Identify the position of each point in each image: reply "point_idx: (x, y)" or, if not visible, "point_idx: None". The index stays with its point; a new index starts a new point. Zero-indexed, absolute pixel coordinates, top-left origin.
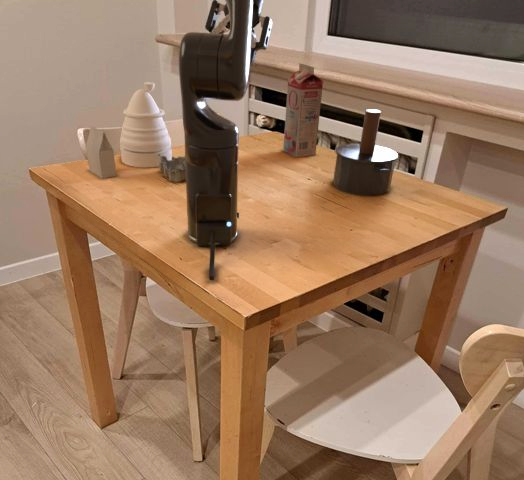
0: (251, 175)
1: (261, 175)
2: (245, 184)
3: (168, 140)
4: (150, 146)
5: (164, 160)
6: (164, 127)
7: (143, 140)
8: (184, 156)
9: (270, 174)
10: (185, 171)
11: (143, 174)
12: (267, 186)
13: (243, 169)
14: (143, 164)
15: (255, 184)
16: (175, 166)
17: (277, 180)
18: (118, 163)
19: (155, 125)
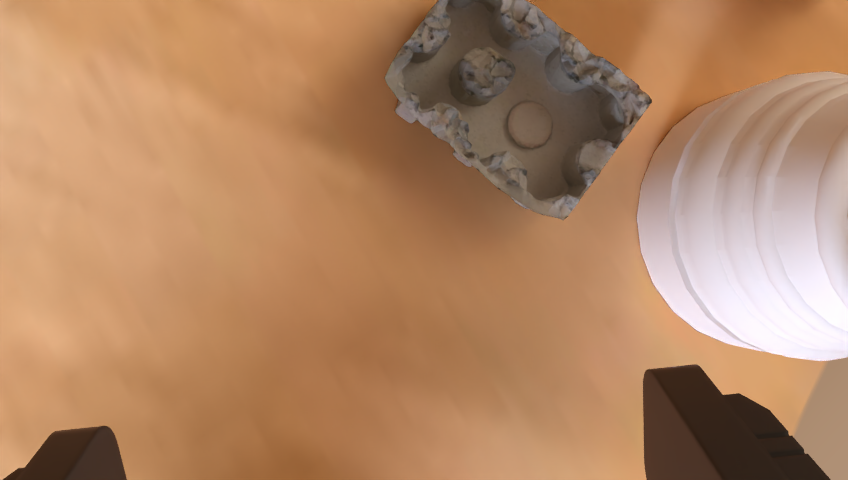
0: (177, 328)
1: (129, 362)
2: (132, 176)
3: (701, 249)
4: (724, 116)
5: (587, 74)
6: (763, 245)
7: (775, 100)
8: (552, 215)
9: (93, 410)
10: (434, 50)
11: (638, 20)
12: (10, 216)
13: (267, 393)
14: (705, 104)
15: (84, 207)
16: (504, 58)
17: (8, 340)
18: None
19: (791, 170)
